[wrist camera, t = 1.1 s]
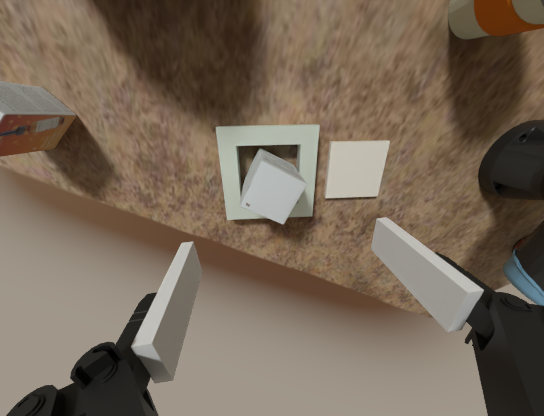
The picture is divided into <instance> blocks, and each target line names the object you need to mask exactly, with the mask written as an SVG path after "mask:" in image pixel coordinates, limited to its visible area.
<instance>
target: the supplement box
mask: <svg viewBox="0 0 544 416" xmlns="http://www.w3.org/2000/svg"><path fill="white" fill-rule="evenodd" d="M306 186H307V183H306V182H305V180H304V179H303V178H302V176H301V175H300V174H299V172H298V171H297V169H296V168H295V167H294V165H293V164H291V163H289V162H287V161H285V160H283V159H281V158H279V157H277V156H275V155H273V154H271V153H269V152H267V151H265V150H263V149H261V148H259V150H258V152H257V154H256V156H255V158H254V160H253V162H252V164H251V166H250V169H249V171H248V173H247V175H246V178H245V180H244V185H243V190H242V195H241V199H240V205H239V207H242V208H244V209H247V210H249V211H252V212H254V213H257V214H259V215H261V216H264V217H266V218H268V219H271V220H273V221H276V222H278V223H281V224H284V223H285V221H286V220H287V218H288V216H289V215H290V213H291V211H292V210H293V208H294V206H295V205H296V203H297V201H298V199H299V198H300V196H301V194H302V193H303V191H304V189H305V188H306Z"/></svg>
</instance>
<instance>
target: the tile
mask: <svg viewBox="0 0 544 416" xmlns="http://www.w3.org/2000/svg"><path fill="white" fill-rule="evenodd" d="M389 143H390V141H388V140H374V141H330V142H329V152H328V162H327V171H326V181H325V191H324V197H325V198H346V197H373V196H378V192H379V187H380V183H381V178H382V174H383V170H384V165H385V161H386V156H387V152H388V148H389Z"/></svg>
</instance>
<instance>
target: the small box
mask: <svg viewBox="0 0 544 416" xmlns="http://www.w3.org/2000/svg"><path fill="white" fill-rule="evenodd" d="M76 117H77V115H76V114H75V113H73V112H72V111H71V110H70V109H68V108H67V107H66V106H65V105H64V104H62V103H61V102H60V101H59V100H57V99H56V98H55V97H54V96H52V95H51V94H50V93H49V92H47V91H46V90H45V89H44V88H42V87H37V86H30V85H23V84H16V83H9V82H3V81H0V157H1V156H8V155H14V154H21V153H28V152H35V151H42V150H49V149H55V148H56V146H57V144H58V142H59V141H60V139H61V138H62V136H63V135H64V134H65V132H66V131H67V129H68V128H69V126H70V125H71V124H72V122H73V121H74V120H75V118H76Z"/></svg>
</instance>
